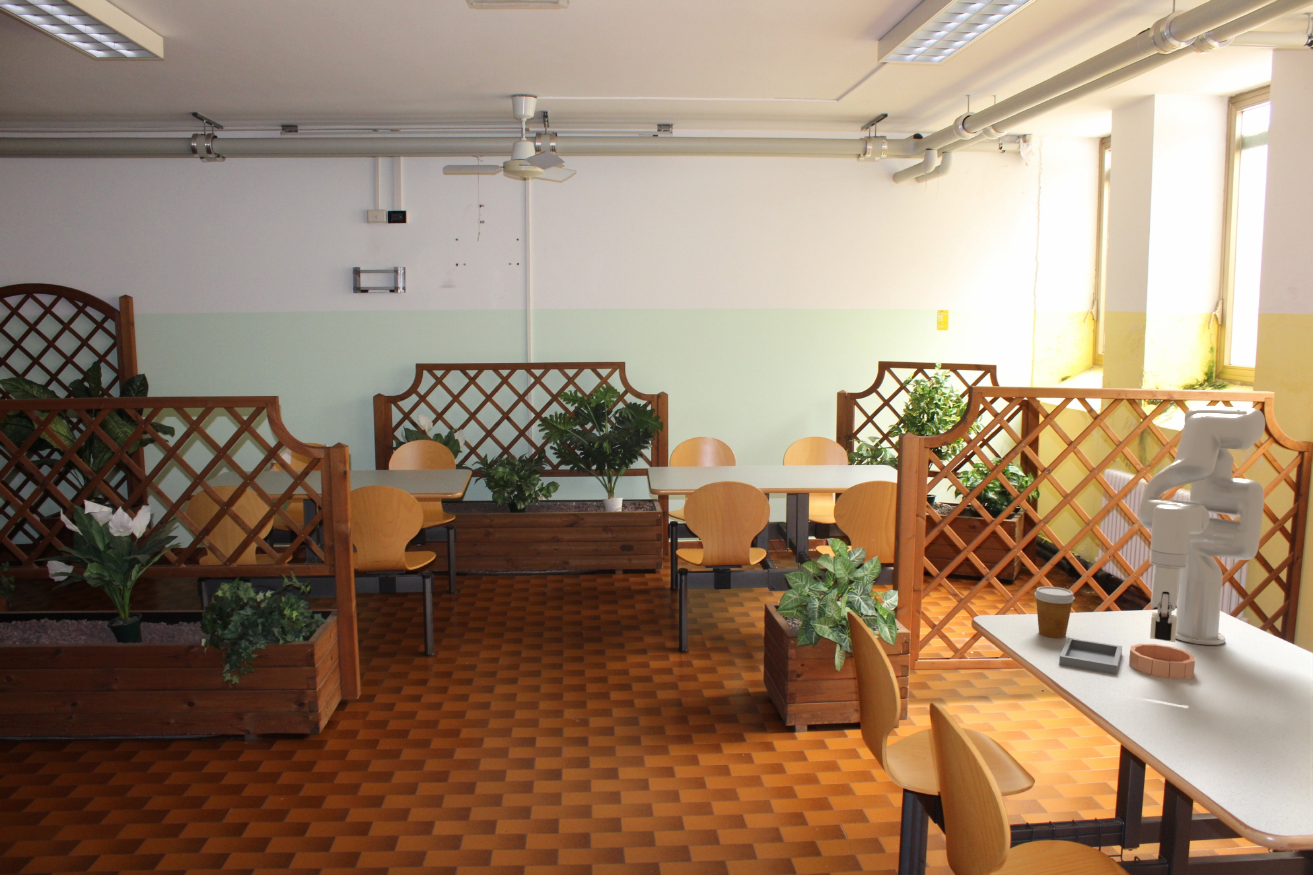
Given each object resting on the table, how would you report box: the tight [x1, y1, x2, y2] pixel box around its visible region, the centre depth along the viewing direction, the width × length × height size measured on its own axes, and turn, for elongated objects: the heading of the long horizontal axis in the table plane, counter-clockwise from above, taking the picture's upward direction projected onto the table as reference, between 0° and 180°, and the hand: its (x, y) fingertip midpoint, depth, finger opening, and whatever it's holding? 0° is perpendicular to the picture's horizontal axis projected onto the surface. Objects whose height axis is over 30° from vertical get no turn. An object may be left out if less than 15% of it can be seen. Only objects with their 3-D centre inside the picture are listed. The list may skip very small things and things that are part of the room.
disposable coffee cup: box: [1034, 586, 1076, 639], centre depth 230 cm, size 10×10×12 cm
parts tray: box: [1058, 637, 1123, 675], centre depth 212 cm, size 16×12×2 cm
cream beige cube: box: [1149, 611, 1177, 643], centre depth 206 cm, size 5×5×5 cm
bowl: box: [1128, 643, 1196, 680], centre depth 207 cm, size 13×13×4 cm
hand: (1163, 635), depth 206 cm, fingers closed on cream beige cube, 4 cm apart
